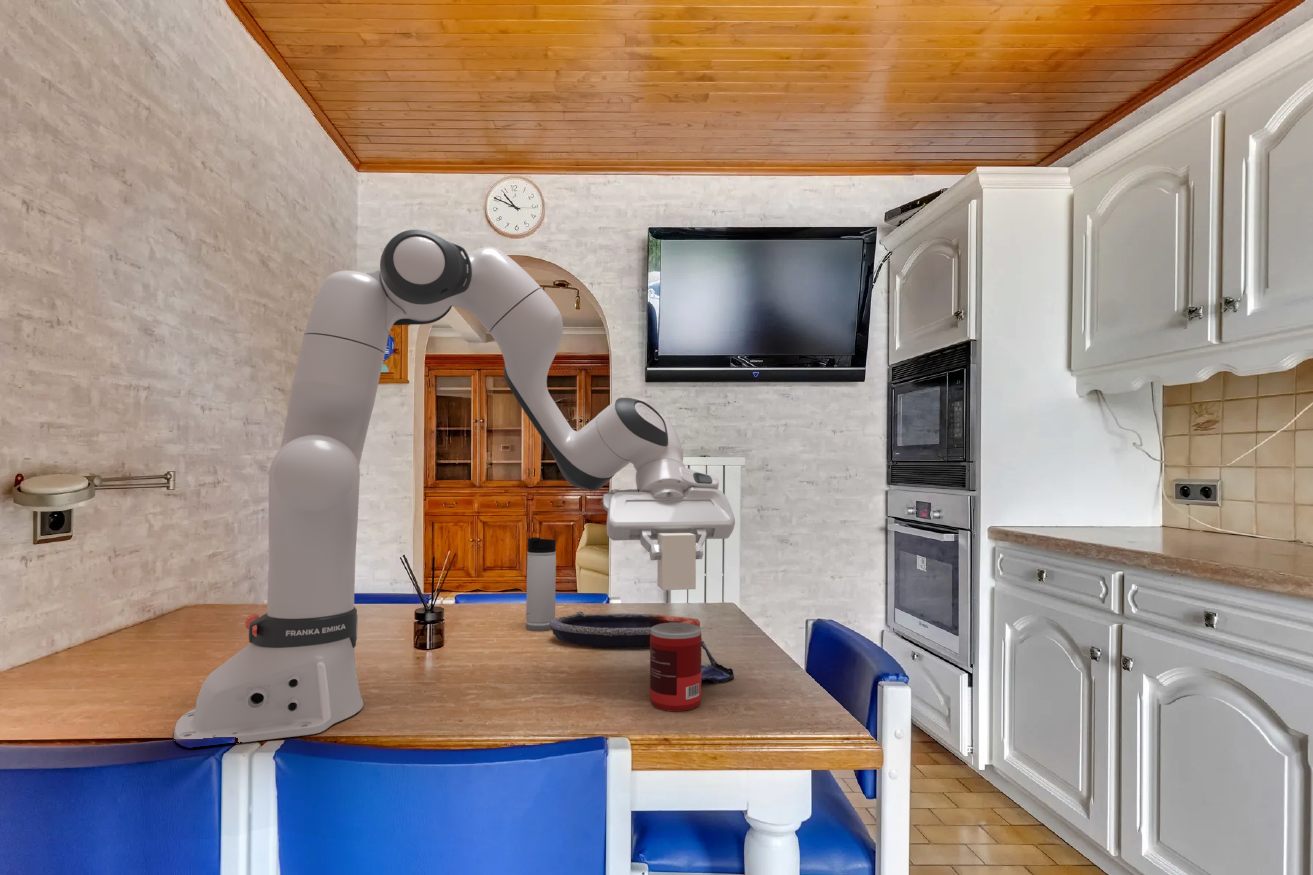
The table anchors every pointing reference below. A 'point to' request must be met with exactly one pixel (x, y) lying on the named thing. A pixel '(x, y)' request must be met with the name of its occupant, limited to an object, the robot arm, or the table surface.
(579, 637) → the dish
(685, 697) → the canned food
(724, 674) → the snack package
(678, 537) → the block
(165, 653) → the table surface
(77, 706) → the table surface
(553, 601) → the travel mug
